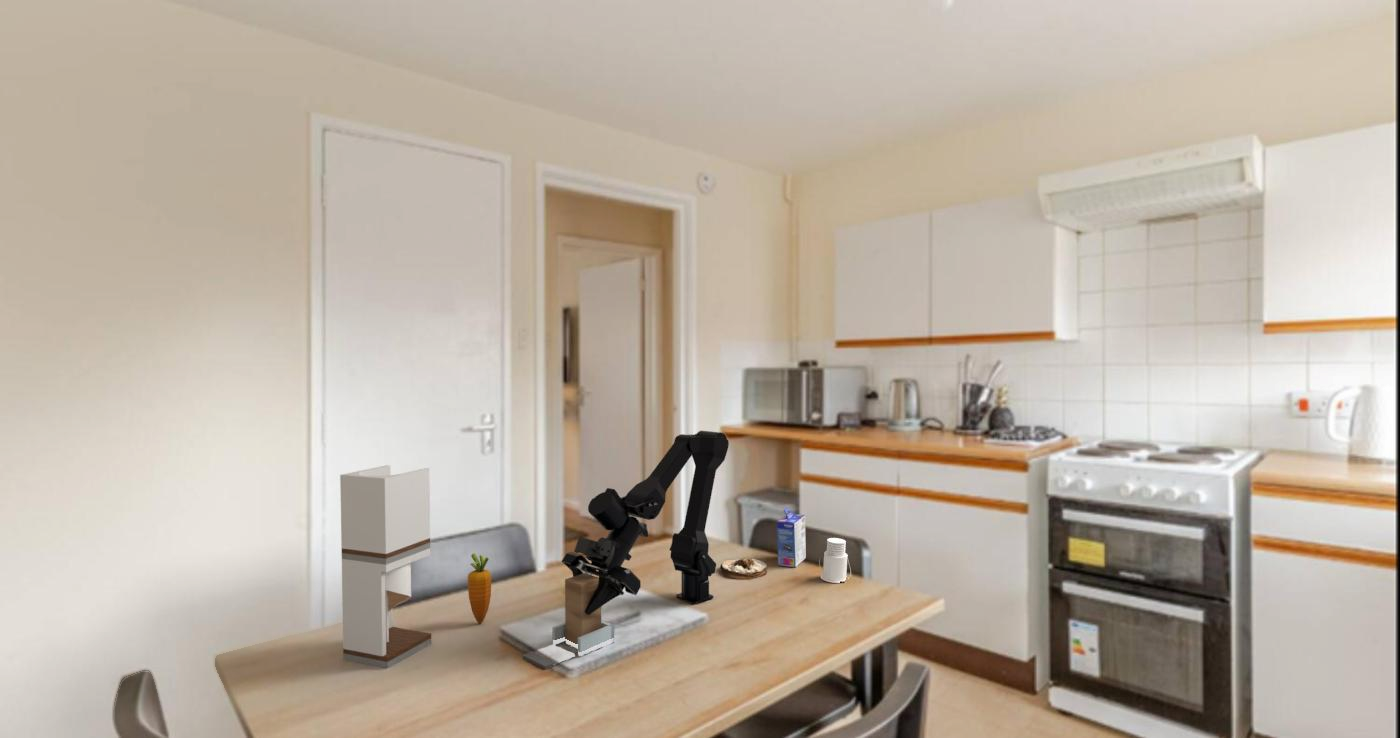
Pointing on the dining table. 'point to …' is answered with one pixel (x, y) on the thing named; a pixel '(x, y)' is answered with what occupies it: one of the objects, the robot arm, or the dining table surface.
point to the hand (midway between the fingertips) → (577, 610)
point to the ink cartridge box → (791, 539)
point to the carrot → (479, 588)
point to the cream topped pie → (743, 568)
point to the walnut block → (580, 607)
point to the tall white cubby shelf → (381, 560)
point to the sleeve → (583, 642)
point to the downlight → (835, 561)
